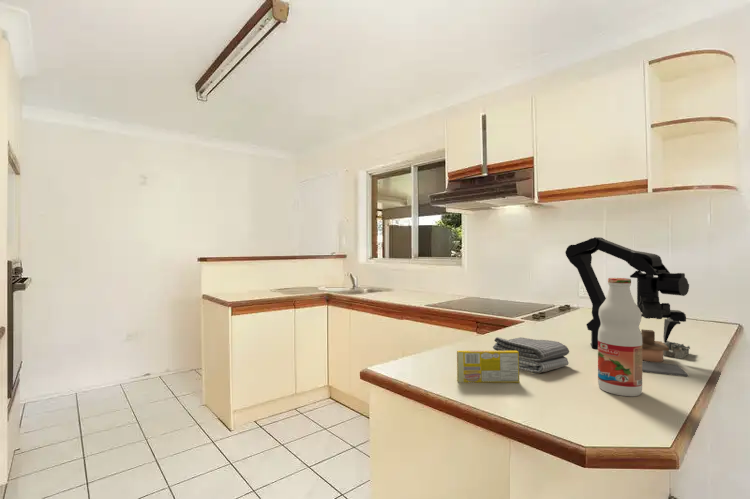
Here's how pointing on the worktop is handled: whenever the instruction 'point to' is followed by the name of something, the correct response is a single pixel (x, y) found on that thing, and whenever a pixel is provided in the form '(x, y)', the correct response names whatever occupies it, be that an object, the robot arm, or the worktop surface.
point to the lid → (652, 341)
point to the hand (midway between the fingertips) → (647, 340)
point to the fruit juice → (620, 341)
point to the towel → (535, 353)
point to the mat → (662, 368)
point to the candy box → (488, 366)
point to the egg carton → (676, 350)
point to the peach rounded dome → (652, 355)
